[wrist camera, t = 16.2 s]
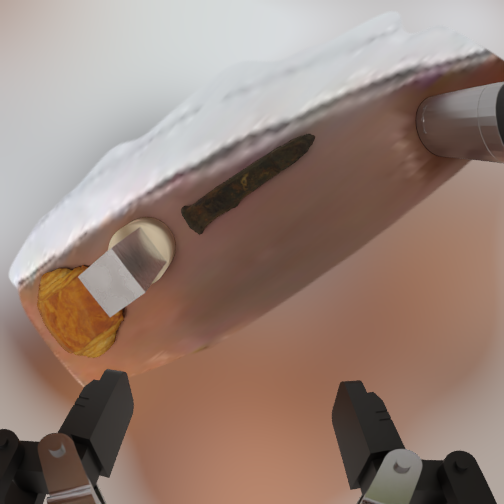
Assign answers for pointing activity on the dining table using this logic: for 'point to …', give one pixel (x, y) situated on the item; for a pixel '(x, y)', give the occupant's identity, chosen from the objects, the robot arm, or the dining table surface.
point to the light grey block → (123, 272)
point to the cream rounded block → (151, 238)
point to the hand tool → (244, 183)
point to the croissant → (75, 314)
